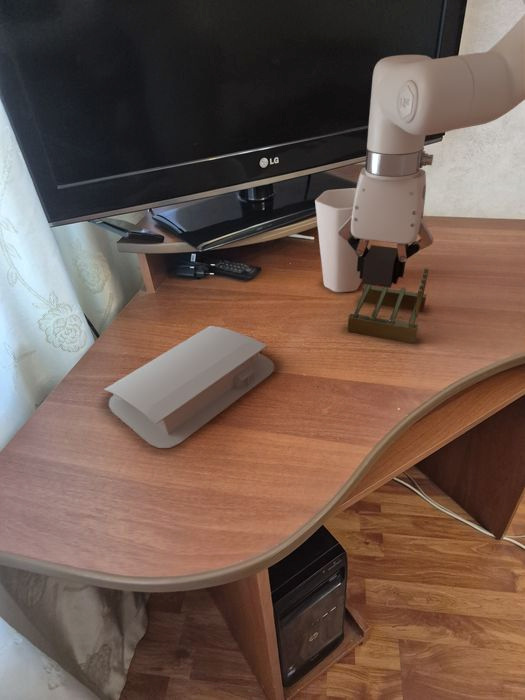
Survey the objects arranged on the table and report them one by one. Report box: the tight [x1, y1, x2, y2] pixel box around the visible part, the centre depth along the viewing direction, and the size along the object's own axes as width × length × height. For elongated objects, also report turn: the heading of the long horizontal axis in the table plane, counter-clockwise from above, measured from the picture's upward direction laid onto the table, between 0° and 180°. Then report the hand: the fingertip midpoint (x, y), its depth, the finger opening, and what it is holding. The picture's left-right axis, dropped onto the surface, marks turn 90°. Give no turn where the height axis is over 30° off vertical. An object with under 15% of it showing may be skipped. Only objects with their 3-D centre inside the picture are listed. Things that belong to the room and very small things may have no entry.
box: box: [361, 244, 398, 289], centre depth 71 cm, size 5×5×5 cm
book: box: [104, 325, 275, 449], centre depth 65 cm, size 15×23×4 cm, turn 137°
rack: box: [347, 267, 429, 345], centre depth 74 cm, size 11×11×9 cm
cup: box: [314, 187, 371, 293], centre depth 82 cm, size 11×10×17 cm
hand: (379, 276), depth 72 cm, fingers closed on box, 4 cm apart
